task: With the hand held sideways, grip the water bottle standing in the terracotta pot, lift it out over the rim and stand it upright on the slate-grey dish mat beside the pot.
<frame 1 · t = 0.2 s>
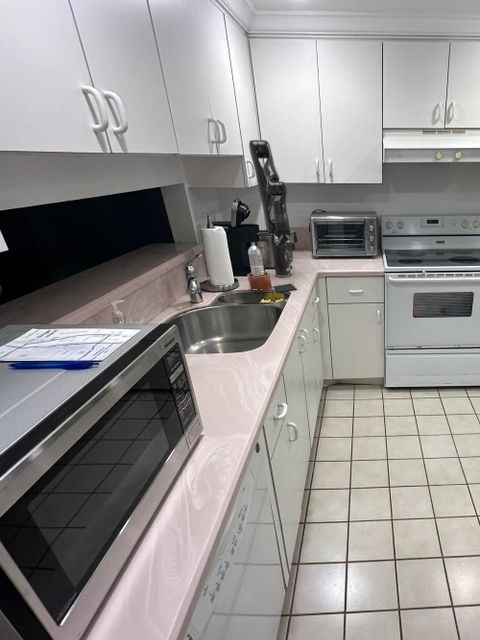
hand: (285, 251, 217), 17 cm above the worktop, tool pointing down, fingers open, 8 cm apart
water bottle: (260, 288, 214), resting in pot
pot: (260, 288, 214), on the worktop
dish mat: (285, 288, 213), on the worktop
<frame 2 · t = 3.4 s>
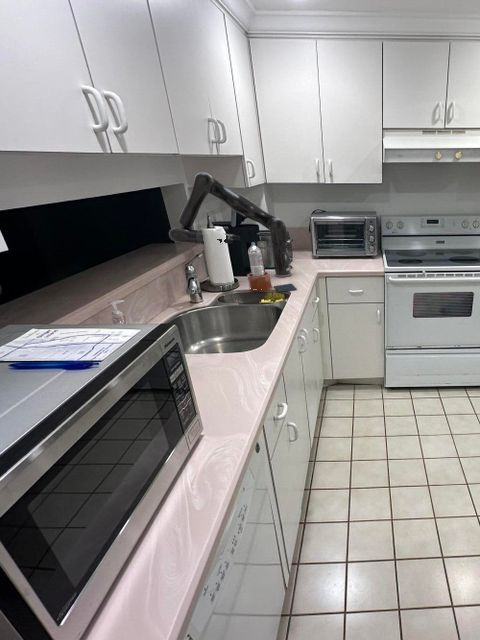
hand: (236, 239, 203), 26 cm above the worktop, tool horizontal, fingers open, 8 cm apart
nothing on the worktop moved.
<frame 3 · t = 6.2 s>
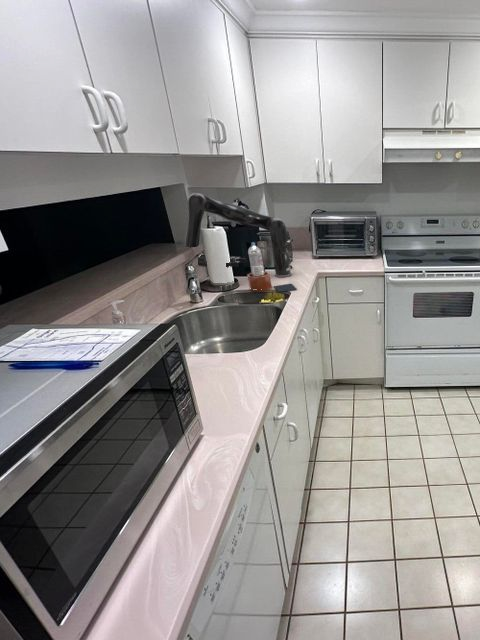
hand: (242, 262, 209), 14 cm above the worktop, tool horizontal, fingers open, 8 cm apart
nothing on the worktop moved.
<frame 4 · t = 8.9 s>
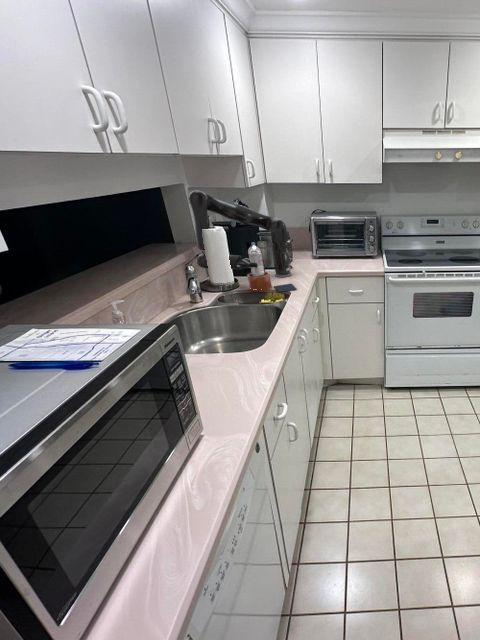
hand: (260, 263, 207), 14 cm above the worktop, tool horizontal, fingers closed on water bottle, 6 cm apart
water bottle: (260, 288, 214), resting in pot, touching gripper
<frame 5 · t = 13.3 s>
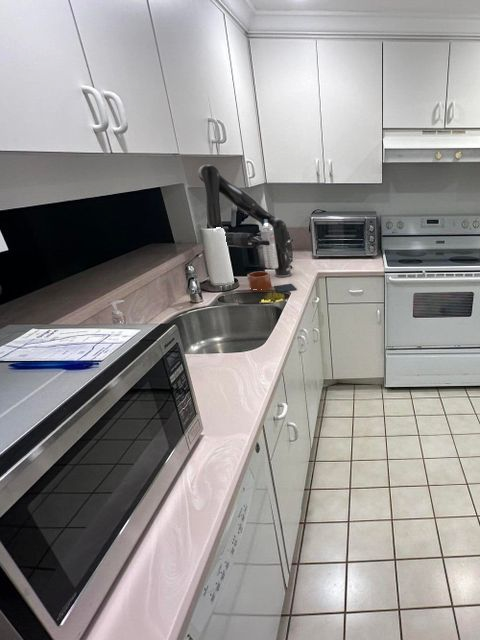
hand: (272, 241, 200), 26 cm above the worktop, tool horizontal, fingers closed on water bottle, 6 cm apart
water bottle: (272, 268, 208), point 12 cm above the worktop, touching gripper
when the fingers open (15 cm above the worktop, at t = 17.7 s): water bottle stays where it is, resting on dish mat.
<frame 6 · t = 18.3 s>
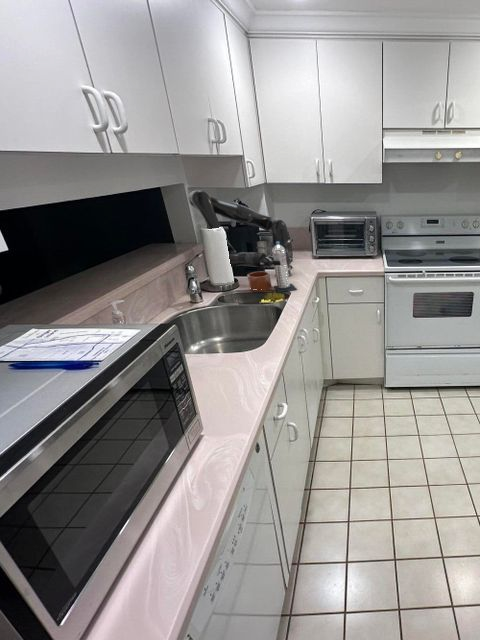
hand: (283, 261, 205), 16 cm above the worktop, tool horizontal, fingers open, 8 cm apart
water bottle: (283, 288, 213), resting on dish mat
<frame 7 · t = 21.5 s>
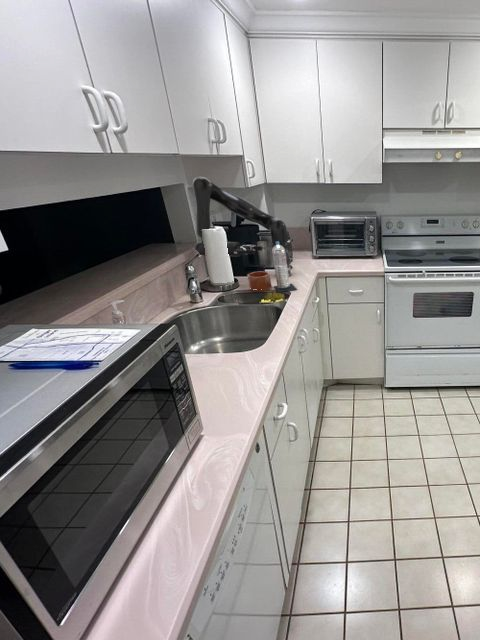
hand: (258, 250, 205), 21 cm above the worktop, tool horizontal, fingers open, 8 cm apart
nothing on the worktop moved.
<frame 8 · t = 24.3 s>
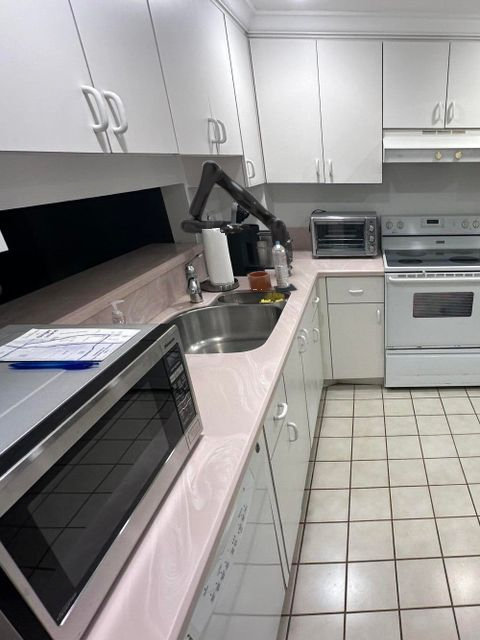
hand: (245, 228, 199), 32 cm above the worktop, tool horizontal, fingers open, 8 cm apart
nothing on the worktop moved.
at the end: water bottle inside the target area on the dish mat (0.7 cm from its centre), point 0.4 cm above the dish mat's base; water bottle tilted 0°; water bottle touching dish mat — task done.
